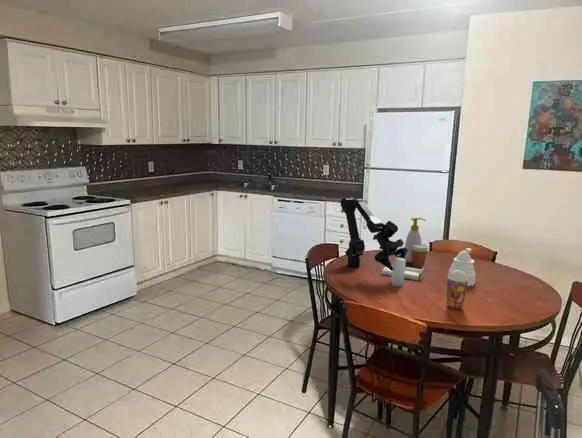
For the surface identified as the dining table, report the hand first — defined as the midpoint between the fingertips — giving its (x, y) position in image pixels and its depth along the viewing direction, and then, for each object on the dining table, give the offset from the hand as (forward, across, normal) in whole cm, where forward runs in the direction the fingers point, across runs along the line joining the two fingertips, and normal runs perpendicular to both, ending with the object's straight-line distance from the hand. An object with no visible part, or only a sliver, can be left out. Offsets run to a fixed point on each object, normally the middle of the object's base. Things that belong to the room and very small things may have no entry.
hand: (399, 268), depth 212 cm
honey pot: (+15, +32, -3) cm, 36 cm away
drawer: (-1, +14, +12) cm, 19 cm away
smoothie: (+30, 0, -18) cm, 34 cm away
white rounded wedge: (+6, 0, +6) cm, 8 cm away
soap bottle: (-12, +38, +23) cm, 46 cm away
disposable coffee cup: (-6, +33, +17) cm, 38 cm away
